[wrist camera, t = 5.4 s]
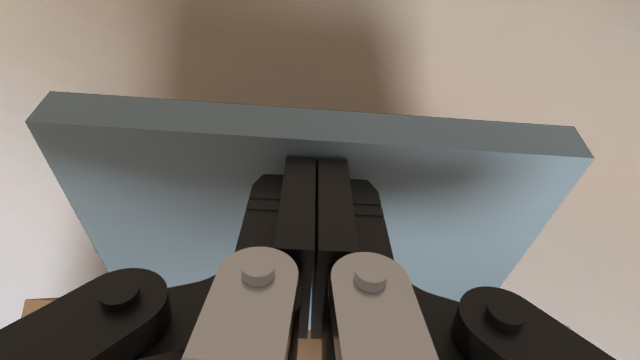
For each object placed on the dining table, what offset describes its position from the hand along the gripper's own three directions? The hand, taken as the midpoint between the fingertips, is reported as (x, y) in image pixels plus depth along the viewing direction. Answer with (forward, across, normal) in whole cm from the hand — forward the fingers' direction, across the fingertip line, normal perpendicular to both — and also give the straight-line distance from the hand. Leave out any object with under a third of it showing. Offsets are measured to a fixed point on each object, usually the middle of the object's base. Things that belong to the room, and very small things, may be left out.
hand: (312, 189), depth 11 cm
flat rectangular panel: (+4, 0, +8) cm, 9 cm away
